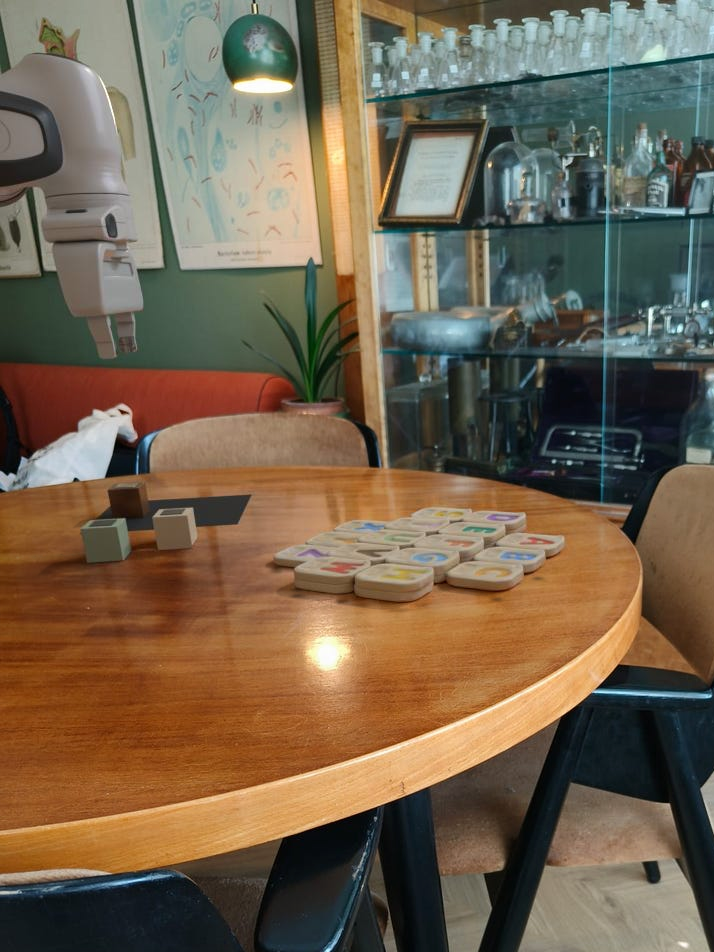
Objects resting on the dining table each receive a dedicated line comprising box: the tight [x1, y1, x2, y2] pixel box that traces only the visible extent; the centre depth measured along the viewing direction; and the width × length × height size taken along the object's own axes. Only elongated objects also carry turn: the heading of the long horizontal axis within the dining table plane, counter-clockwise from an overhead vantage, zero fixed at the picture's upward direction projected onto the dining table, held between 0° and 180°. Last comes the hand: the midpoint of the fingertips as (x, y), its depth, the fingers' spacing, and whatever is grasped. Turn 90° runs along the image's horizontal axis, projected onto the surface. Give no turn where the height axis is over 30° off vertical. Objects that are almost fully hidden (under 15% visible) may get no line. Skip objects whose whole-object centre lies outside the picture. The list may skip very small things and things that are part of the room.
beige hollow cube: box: [152, 508, 198, 551], centre depth 119 cm, size 4×4×5 cm
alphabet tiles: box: [272, 506, 566, 603], centre depth 111 cm, size 33×33×2 cm
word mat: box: [79, 494, 253, 535], centre depth 136 cm, size 22×20×1 cm
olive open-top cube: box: [80, 518, 132, 564], centre depth 114 cm, size 4×4×5 cm
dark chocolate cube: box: [107, 481, 150, 519], centre depth 134 cm, size 4×4×5 cm
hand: (119, 355), depth 104 cm, fingers open, 8 cm apart
